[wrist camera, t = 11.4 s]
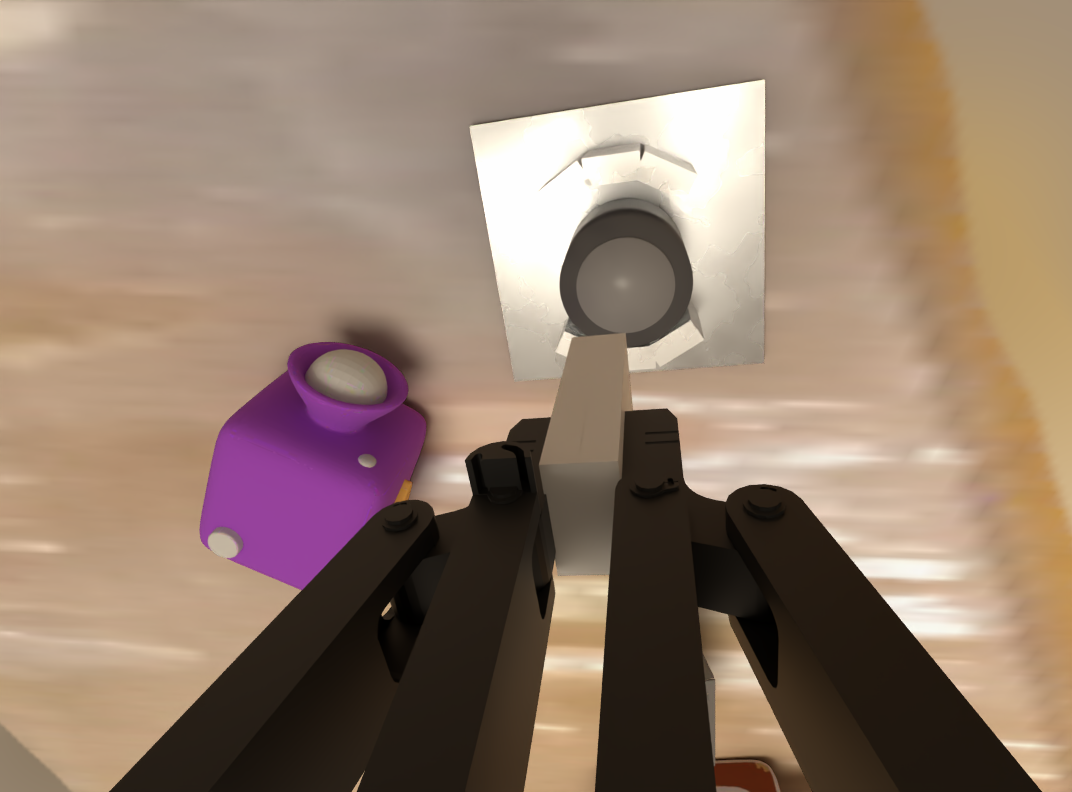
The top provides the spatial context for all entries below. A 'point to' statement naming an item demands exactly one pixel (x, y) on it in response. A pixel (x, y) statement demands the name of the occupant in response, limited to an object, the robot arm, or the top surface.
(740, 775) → the cine camera
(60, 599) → the top surface
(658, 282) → the dark grey cylinder
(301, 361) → the toy camera
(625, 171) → the grey square plate
